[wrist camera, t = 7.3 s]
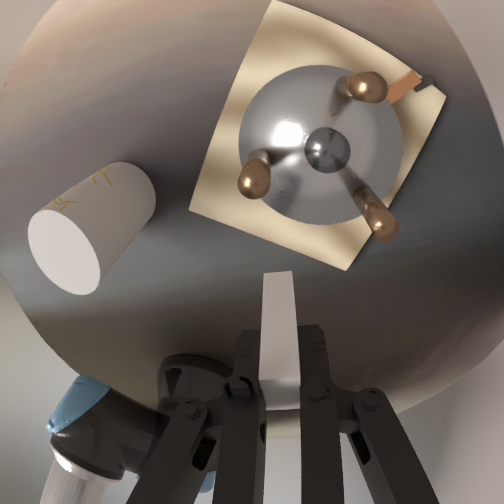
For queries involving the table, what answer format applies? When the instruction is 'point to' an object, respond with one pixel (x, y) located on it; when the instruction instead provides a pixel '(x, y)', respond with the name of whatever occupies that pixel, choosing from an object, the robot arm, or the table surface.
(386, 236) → the capstan wheel
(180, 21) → the table surface
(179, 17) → the table surface
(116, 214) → the cup
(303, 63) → the base board
